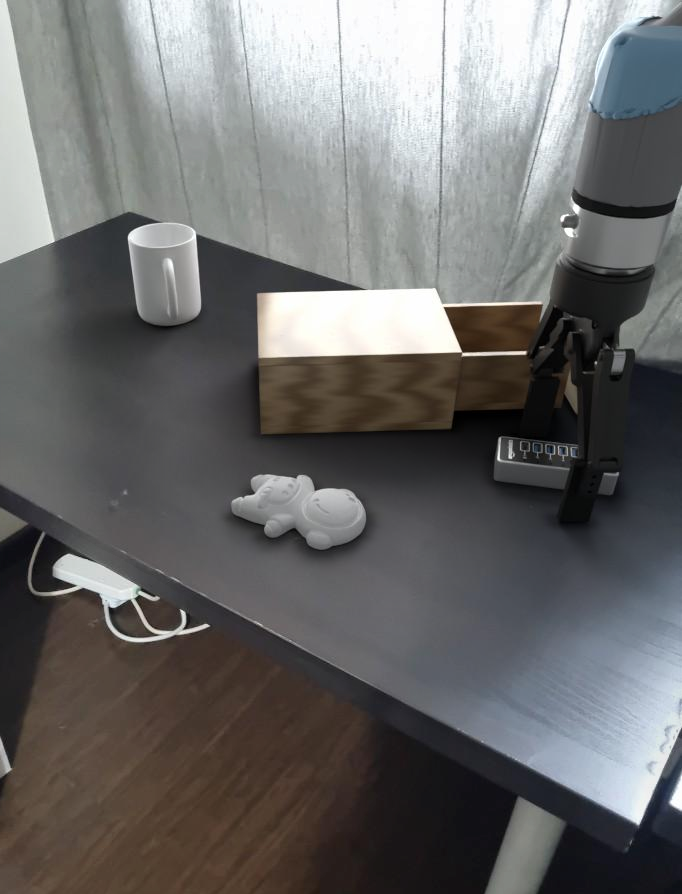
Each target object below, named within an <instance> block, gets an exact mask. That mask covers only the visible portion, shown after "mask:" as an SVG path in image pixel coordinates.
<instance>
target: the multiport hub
mask: <svg viewBox="0 0 682 894" xmlns="http://www.w3.org/2000/svg"><path fill="white" fill-rule="evenodd" d="M496 444H497V445H496V450H495V456H494V465H493V475H492V476H493V477H492V478H493V480H494V481H496V482H500V483H501V482H502V483H509V484H510V483H511V484H516V485H525V486H534V487H541V488H549V489H557V490H564V488H565V484H566V481H567V477H568V473H569V470H570V466H571V465H570V460H572V459H573V457H578V444H570V443H561V442H555V441H554V442H552V441H545V440H535V439H527V438H521V437H520V438H519V437H510V436H499V437H498V439H497V443H496ZM619 477H620V472H614V473H604V474H603V478H602V481H601V484H600V487H599V491H598V494H597V495H605V496H612V495H613V494H614V492H615V488H616V484H617V482H618V478H619Z"/></svg>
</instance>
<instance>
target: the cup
mask: <svg viewBox="0 0 682 894" xmlns="http://www.w3.org/2000/svg"><path fill="white" fill-rule="evenodd" d="M127 243H128V250H129V257H130V266H131V272H132V281H133V287H134V296H135V303H136V310H137V313H138V316H139V317H140V319H142V320H143V321H144V322H146V323H148V324H151V325H155V326H161V327H171V326H179V325H182V324H183V325H184V324H186V323H190V322H191V321H193V320H194V319H196V318H197V317H198V316H199V314H200V312H201V309H202V296H201V284H200V283H201V282H200V272H199V271H200V270H199V269H200V268H199V258H198V257H199V256H198V245H197V243H198V242H197V232H196V231H195V229H193V228H192V227H191V226H189V225H185V224H183V223H177V222H156V223H149V224H145V225H142V226H139V227H136V228H134V229H132V230H131V231H130V232H129V233H128V235H127Z"/></svg>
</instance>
